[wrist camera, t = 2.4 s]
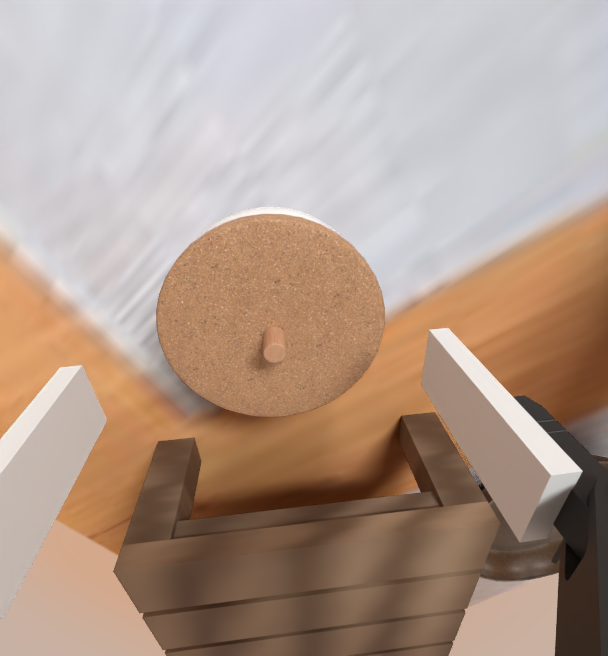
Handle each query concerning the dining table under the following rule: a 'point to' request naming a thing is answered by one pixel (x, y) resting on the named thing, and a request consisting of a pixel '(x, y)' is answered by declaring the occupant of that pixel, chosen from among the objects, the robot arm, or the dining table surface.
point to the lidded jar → (270, 313)
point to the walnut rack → (310, 562)
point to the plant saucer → (521, 550)
